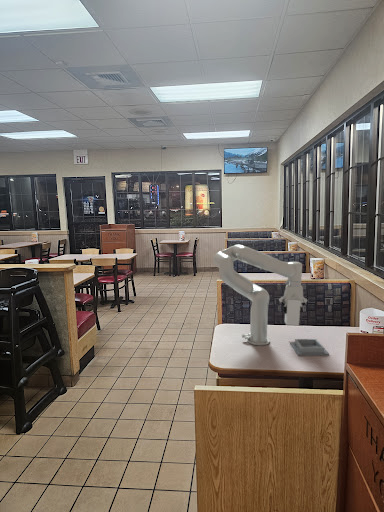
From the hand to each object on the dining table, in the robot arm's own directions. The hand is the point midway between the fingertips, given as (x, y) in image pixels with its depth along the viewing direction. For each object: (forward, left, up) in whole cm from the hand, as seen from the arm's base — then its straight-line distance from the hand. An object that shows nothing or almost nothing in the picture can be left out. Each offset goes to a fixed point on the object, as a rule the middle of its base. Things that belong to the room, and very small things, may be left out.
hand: (292, 312), depth 206 cm
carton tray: (+5, -17, -15) cm, 23 cm away
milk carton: (0, 0, -7) cm, 7 cm away
